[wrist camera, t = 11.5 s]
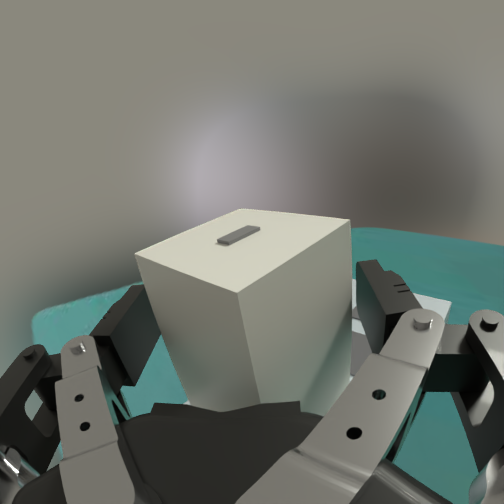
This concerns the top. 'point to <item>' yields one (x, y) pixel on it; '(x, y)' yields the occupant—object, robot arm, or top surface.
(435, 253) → the top surface
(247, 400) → the block
